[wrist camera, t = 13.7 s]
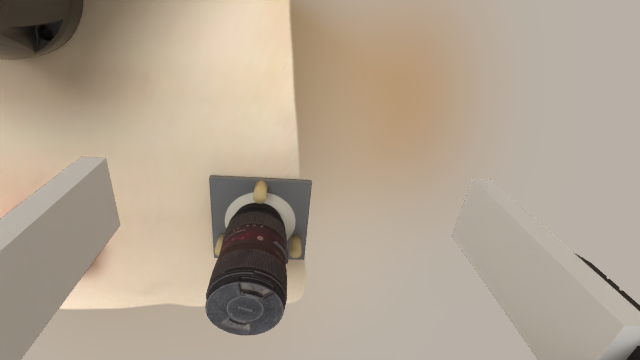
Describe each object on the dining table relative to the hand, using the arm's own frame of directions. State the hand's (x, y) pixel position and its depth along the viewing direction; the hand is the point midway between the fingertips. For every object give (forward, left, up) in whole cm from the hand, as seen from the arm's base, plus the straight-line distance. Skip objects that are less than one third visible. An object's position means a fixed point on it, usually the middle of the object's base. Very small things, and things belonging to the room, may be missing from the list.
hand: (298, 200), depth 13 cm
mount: (-3, -21, -29) cm, 36 cm away
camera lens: (-3, -21, -28) cm, 35 cm away
